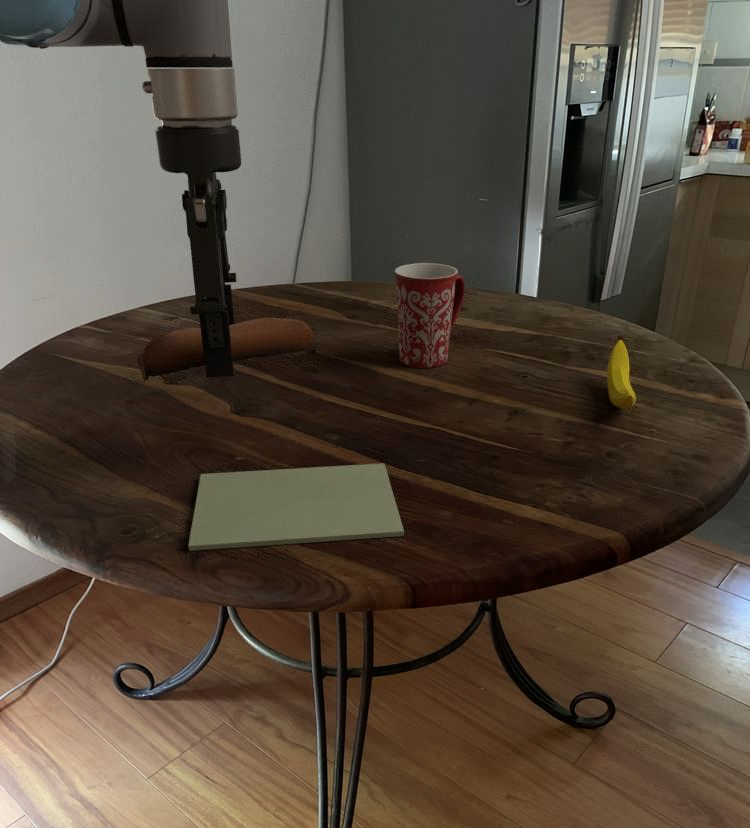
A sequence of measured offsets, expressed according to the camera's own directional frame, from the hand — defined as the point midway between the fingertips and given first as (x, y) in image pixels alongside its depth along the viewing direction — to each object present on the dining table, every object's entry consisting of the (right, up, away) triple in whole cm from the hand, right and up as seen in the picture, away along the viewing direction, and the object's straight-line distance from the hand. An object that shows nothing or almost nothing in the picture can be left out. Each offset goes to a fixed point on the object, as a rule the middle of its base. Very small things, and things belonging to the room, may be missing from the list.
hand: (222, 358), depth 78 cm
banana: (+48, -3, +19) cm, 52 cm away
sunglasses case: (0, 0, 0) cm, 1 cm away
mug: (+25, +7, +34) cm, 43 cm away
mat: (+8, -16, -4) cm, 18 cm away
